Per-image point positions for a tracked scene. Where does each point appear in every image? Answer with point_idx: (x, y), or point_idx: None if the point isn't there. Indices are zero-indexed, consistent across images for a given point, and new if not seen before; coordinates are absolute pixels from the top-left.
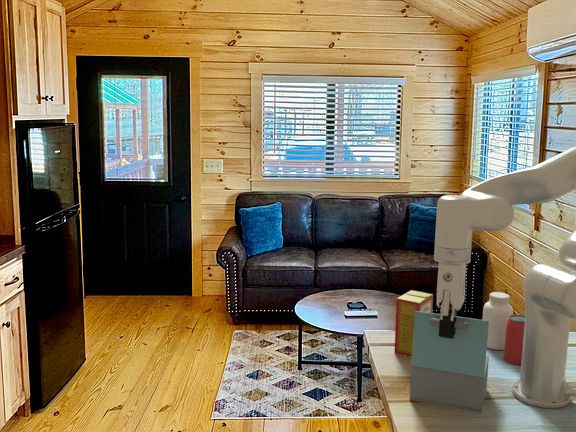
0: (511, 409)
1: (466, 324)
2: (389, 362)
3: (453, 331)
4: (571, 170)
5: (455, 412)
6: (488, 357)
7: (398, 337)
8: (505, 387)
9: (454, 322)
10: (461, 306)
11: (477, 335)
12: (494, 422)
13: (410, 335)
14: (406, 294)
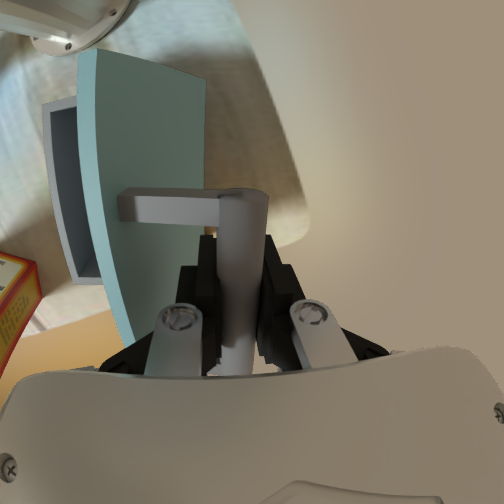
0: (159, 35)
1: (262, 204)
2: (77, 299)
3: (275, 255)
4: None
5: (219, 141)
6: (48, 103)
7: (28, 314)
8: (61, 70)
9: (289, 288)
10: (381, 365)
11: (148, 116)
12: (235, 61)
13: (18, 301)
14: None
